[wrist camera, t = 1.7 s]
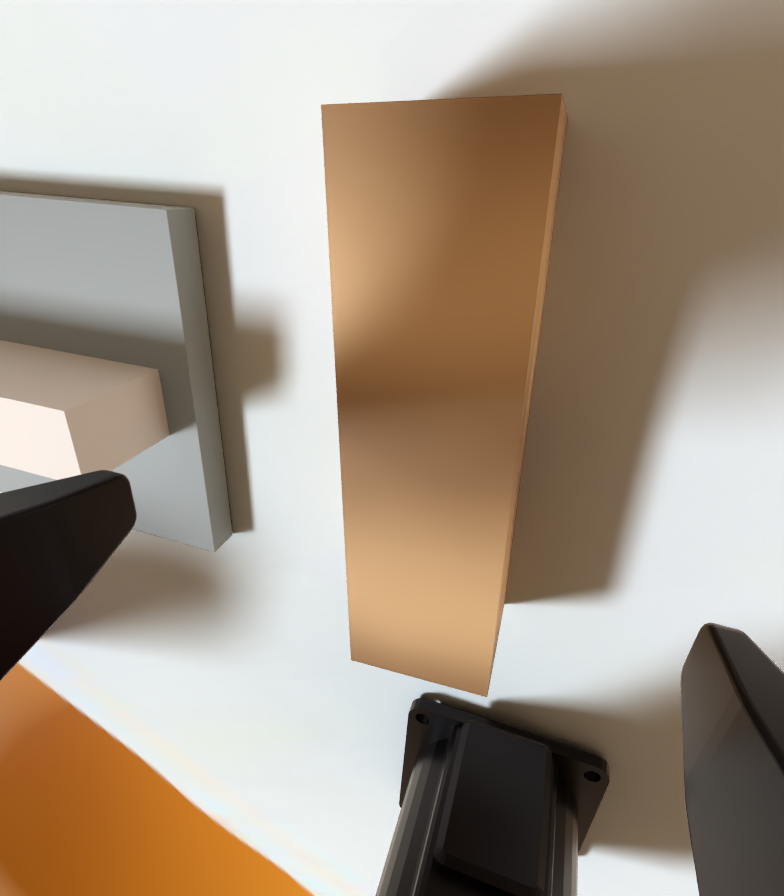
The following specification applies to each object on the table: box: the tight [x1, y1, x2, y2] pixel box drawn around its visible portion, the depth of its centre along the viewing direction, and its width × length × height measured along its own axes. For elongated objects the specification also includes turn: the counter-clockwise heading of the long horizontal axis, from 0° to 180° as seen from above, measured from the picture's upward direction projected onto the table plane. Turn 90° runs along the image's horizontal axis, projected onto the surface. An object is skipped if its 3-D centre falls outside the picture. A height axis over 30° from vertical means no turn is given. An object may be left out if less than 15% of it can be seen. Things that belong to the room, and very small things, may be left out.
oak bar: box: [321, 94, 568, 697], centre depth 12 cm, size 12×4×4 cm, turn 0°
